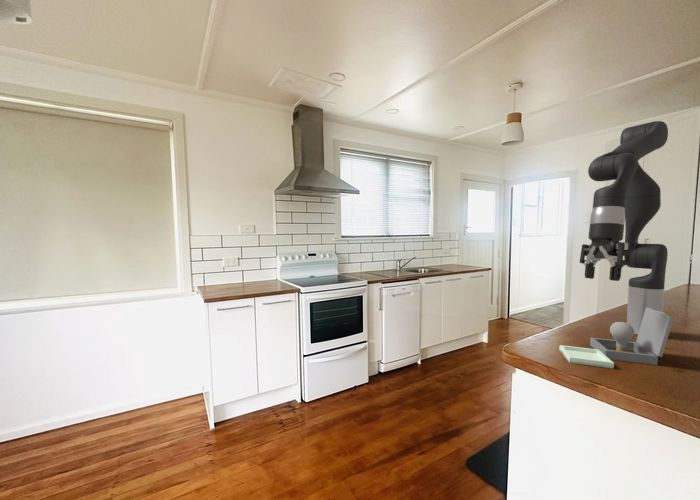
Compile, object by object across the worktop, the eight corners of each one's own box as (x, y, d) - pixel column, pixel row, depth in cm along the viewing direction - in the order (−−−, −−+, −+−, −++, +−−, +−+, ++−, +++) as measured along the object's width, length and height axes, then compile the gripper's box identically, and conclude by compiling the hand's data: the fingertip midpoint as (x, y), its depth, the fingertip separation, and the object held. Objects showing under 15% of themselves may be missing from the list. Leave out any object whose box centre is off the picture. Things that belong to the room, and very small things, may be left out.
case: (590, 344, 96) (590, 337, 96) (635, 349, 92) (635, 342, 92) (605, 358, 86) (605, 350, 86) (657, 365, 81) (657, 356, 81)
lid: (646, 306, 91) (651, 308, 90) (635, 341, 92) (641, 343, 91) (670, 316, 80) (676, 318, 79) (658, 356, 81) (664, 357, 81)
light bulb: (638, 358, 86) (639, 325, 85) (616, 357, 87) (618, 324, 86) (624, 351, 91) (626, 320, 90) (604, 350, 92) (606, 319, 92)
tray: (559, 349, 92) (559, 345, 92) (598, 354, 89) (598, 349, 88) (569, 362, 83) (569, 357, 83) (613, 368, 79) (614, 363, 79)
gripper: (644, 222, 77) (638, 283, 76) (599, 227, 91) (594, 279, 91) (615, 219, 77) (609, 279, 77) (574, 225, 91) (569, 276, 91)
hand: (601, 279), depth 84 cm, fingers open, 8 cm apart
